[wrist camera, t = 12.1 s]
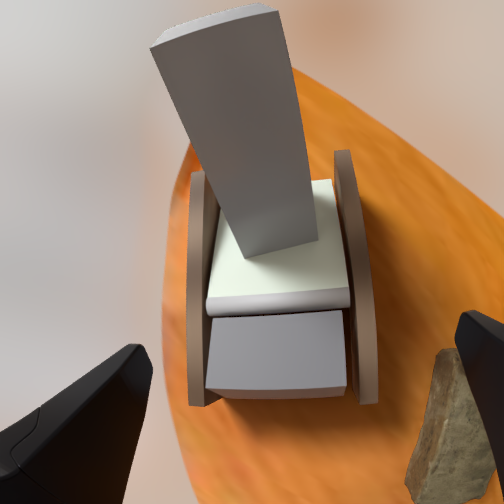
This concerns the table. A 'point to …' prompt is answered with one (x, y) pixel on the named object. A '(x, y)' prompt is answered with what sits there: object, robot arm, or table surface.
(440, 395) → the stone block
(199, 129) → the granite pillar
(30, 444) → the robot arm
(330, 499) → the table surface
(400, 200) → the table surface
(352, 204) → the frame
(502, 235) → the table surface
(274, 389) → the trapdoor flap
